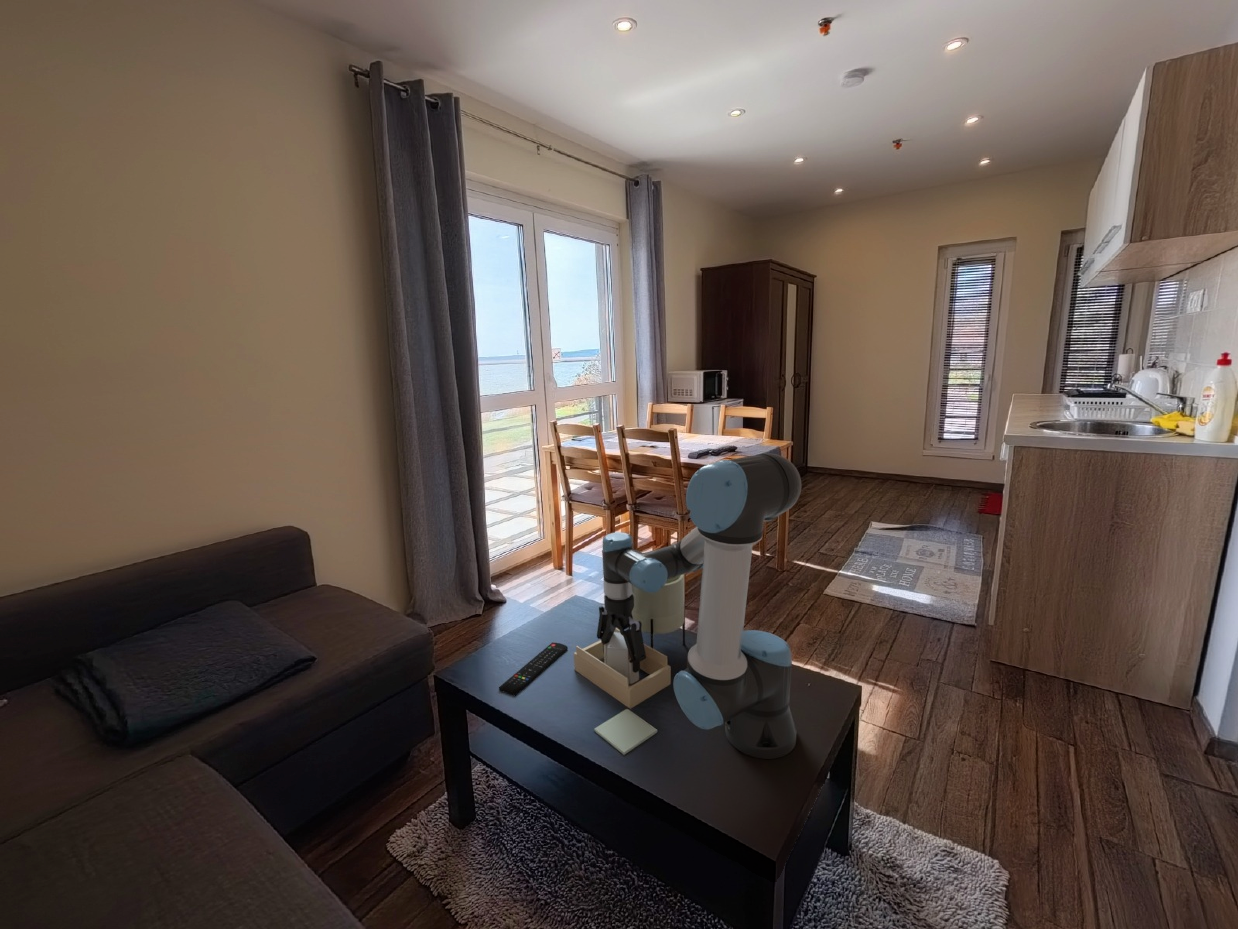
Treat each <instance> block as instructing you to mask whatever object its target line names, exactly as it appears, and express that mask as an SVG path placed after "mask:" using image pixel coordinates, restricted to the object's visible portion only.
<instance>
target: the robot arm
mask: <svg viewBox="0 0 1238 929" xmlns="http://www.w3.org/2000/svg"><path fill="white" fill-rule="evenodd" d="M801 479H802V478H801V475H800V473H799V471H798V469H797V467H796V466H795V464H794V463H793V462H791V460H790V459H787V458H786V457H784V456H782V455H779V454H776V453H769V452H767V453H766V452H764V453H758V454H754V455H748V456H743V457H739V458H732V459H731V458H730V459H723V460H718V461H715V462H713V463H709V464H705V465H704V466H702V467H700V468H699V469H698V470H697V471H695V473H694V474H692V477H691V479H690V480H689V482H688V485H687V488H686V492H685V493H686V495H685V496H686V497H685V503H686V509H687V511H690V513H689V518H690V520H691V521H692V523H693V524H694V526H695V527H694V528H693V529H692V530H691V531H690V532H689V533H688V534H686V535H685V536H684V537H683V538H681V539H680V540H679V541H677V542H676V543H675V544H672V545H669V546H665V547H661V548H657V549H653V550H649V551H646V552H641V551H639V550H637V549H636V548H634V542H633V541H634V540H633V536H632V535H630V534H629V533H626V532H619V531H618V532H611V533H608V534H606V535H605V536H604V537H603V538H602V549H601V553H602V554H601V556H602V557H601V558H602V573H603V574H602V575H603V593H604V595H603V599H604V600H603V601H604V604H603V605H601V606H599V607H598V611H599V612H598V613H599V617H598V623H597V631H596V638H597V640H601V642H602V643H603V653H604V658H603V663H605V664H606V665H607V646H608V644H609V642H610V640H611V637H612V634H613V633H614V632H615V629H616V628H617V629H619V630H620V633H621V635H623V637H624V640H625V643H626V646H627V648H628V652H629V655H630V658H631V659H630V660H629V683H630V685H634V684H635V683H637V682H639V681H640V671H641V669H640V661H642V660H644V659H646V653H645V648H644V644H645V642H644V638H643V632H642V631H641V626H642V623H641V621H637V622H636V621H635V620H633V616H632V610H633V608H634V594H633V592H634V586H635V587H636V588H638V589H640V590H643V591H645V592H648V593H655V592H657V591H659V590H660V588H661V587H663V586H664V585H665V583H666V581H667V580H668V579H671V578H674V577H676V576H680V575H683V574H684V575H686V574H689V573H695V572H697V571H699V570H701V569H702V572H701V574H702V575H701V584H700V595H699V596H700V599H699V609H698V619H697V620H698V621H697V622H698V623H697V635H696V643H695V644H693V645H692V646H691V647H690V649H689V650H688V653H687V659H686V660H687V661H686V668H685V669H684V670H680V671H678V673H676V674H675V676H674V678H673V684H672V685H673V686H672V687H673V691H674V695H675V698H676V700H677V702H678V705H679V707H680V708H681V711H682V712H683V713H684V715H685V717H686V718H687V719H688V720H689V721H690V722H691V723H692V724H694V725H695V726H696V727H697V728H699V729H701V730H711V729H714V728H715V727H718V726H719V727H721V726H723V725H724V724H725V726H724V729H725V736H726V738H727V740H728V742H729V743H730V745H731V746H733V748H735V749H736V750H738V751H740V752H741V753H743V754H744V755H748V756H750V757H752V758H757V759H764V760H765V759H766V760H772V759H779V758H782V757H785V756H786V755H789V753H791V752H792V750H793V749H794V748H795V746H796V742H797V727H796V723H795V722H794V719H793V714H792V712H791V709H790V694H791V692H790V690H791V675H792V674H791V673H792V666H793V661H792V651H791V647H790V646H789V643H787V641H786V640H784V639H783V638H781V637H779V636H778V635H776V634H774V633H770V632H767V631H764V630H763V631H762V630H757V629H755V630H754V629H753V630H752V629H749V630H744V626H745V617H746V616H745V615H746V608H747V607H746V606H747V597H748V590H749V589H748V588H749V580H750V573H751V572H750V571H751V562H752V553H753V546H754V545H756V544H758V543H759V542H760V541H761V540H762V538H763V533H764V525H765V522H771V521H773V520H775V519H777V518H778V517H779V516H781V515H782V514H784V513H785V512H787V511H789V510H790V509H792V508H793V506H794V505H796V503H797V501H799V500H798V499H799V498H800V495H801V493H802V480H801ZM633 585H634V586H633ZM634 655H635V656H634Z"/></svg>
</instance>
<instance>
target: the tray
mask: <svg viewBox="0 0 1238 929" xmlns="http://www.w3.org/2000/svg"><path fill="white" fill-rule="evenodd" d="M614 632H617V633H620V630H619V629H618V628H616V629H615V631H614ZM644 648H645V653H646V659H644V660H642V661H640V670H642V671H643V672H645V673H647V674H649V675H648V676H646V677H644V678H642V679H640V680H638V681H636V682H635V683H633V684H631V685H629V686H628V678H626V677H625V676H623V675H622V674H620V673H619V672H617V671H615V670H614V669H612V668H611V667H609V666H608V665H606V664H605V663H604V661H601V660H602V659H604V653H603V643H602V642H601V639H599V640H597V641H596V642H594V643H592V644H590V645H588V646H585V647H584V648H581V647H579V645H576V646H575V652H573V659H574V660H573V662H574V663H573V664H574V665H573V666H574V671H575V672H577V673H579V674H580V675H582V676H583V677H584V678H585V679H587V680H589V682H591V683H593V685H596V686H597V687H599V688H600V689H601V690H603V691H604V692H605V693H606V694H609V695H610V696H611V697H613V698H614V699H616V700H617V701H619V702H620V703H621V704H623V705H624V706H625V707H627V709H629V710H632V708H634V707H636V706H638V705H639V704H641V703H642V702H645V701H646V700H647V699H649V698H651V697H652V696H653V695H655V694H657V693H658V692H660V691H662V690H663V689H665V688H667V687H668V686H670V685H671V684H672V683H671V682H672V679H671V678H672V677H671V665H669V664H668V656H667V655H666V654H663V653H661V652H660V651H658V650H656V649H653V648H651V646H649V645H647V644H646V643H644ZM634 656H635V655H634Z"/></svg>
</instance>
